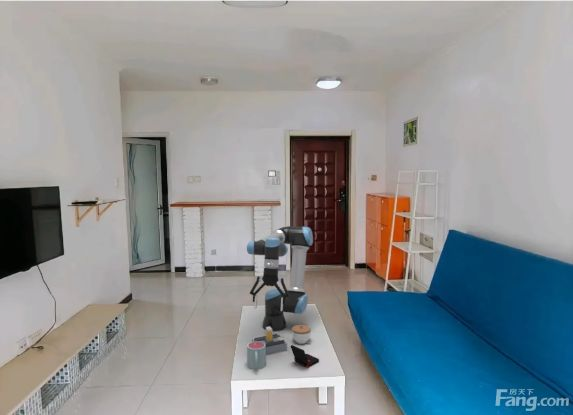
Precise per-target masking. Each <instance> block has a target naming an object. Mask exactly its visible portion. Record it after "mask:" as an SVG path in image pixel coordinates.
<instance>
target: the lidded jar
mask: <svg viewBox="0 0 573 415" xmlns="http://www.w3.org/2000/svg"><path fill="white" fill-rule="evenodd" d="M291 331H292V332H291V333H292V338H293V340H294V341H295V343H297V344H299V345H304V344H306V343H308V341H309V340H310V339H311V338H310V337H311V331H312V330H311V327H310V326H308V325H305V324H297V325H294V326H293V327H292V328H291Z"/></svg>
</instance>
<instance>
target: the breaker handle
mask: <svg viewBox="0 0 573 415" xmlns="http://www.w3.org/2000/svg"><path fill="white" fill-rule="evenodd" d="M273 335H274V333H273V331H272V328H271V327H266V329H265V336H266V338H265V341H266V342H267V343H268V342H274V340H273Z"/></svg>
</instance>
